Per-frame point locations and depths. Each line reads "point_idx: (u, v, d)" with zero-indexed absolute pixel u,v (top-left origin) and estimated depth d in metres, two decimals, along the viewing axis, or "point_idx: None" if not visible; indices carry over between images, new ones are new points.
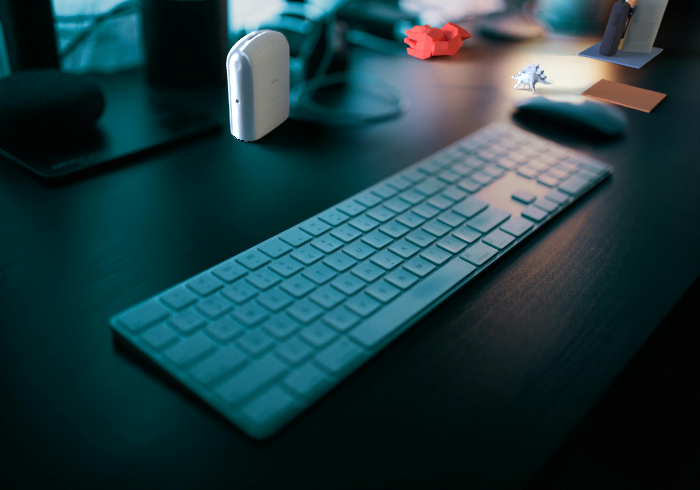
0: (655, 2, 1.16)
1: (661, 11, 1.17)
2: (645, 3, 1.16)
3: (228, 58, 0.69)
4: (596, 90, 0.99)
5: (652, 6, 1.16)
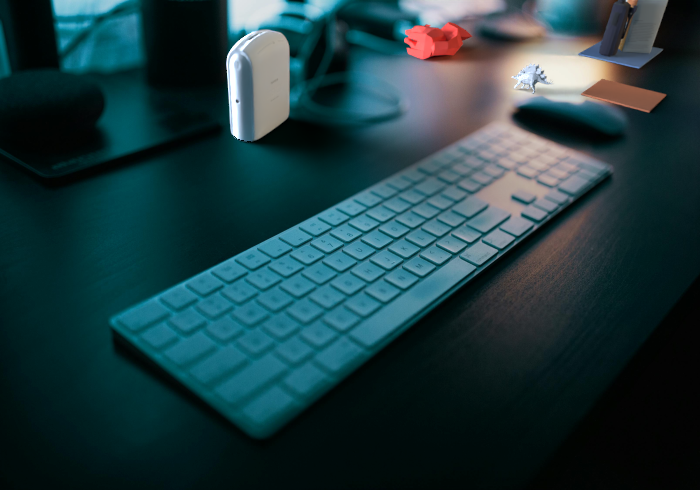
0: (655, 2, 1.16)
1: (661, 11, 1.17)
2: (645, 3, 1.16)
3: (228, 58, 0.69)
4: (596, 90, 0.99)
5: (652, 6, 1.16)
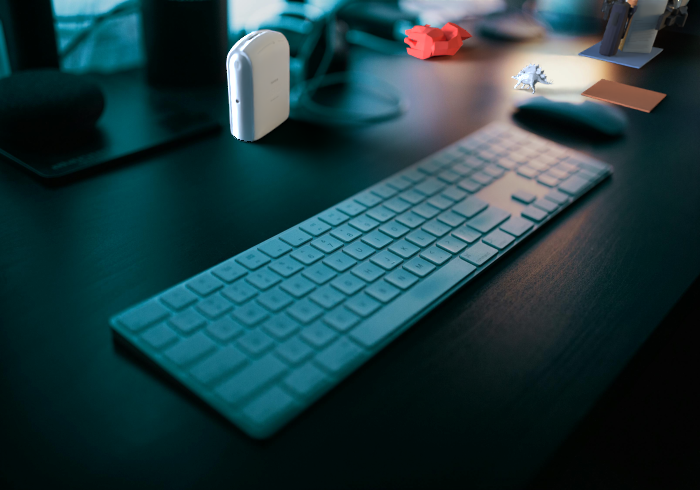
0: (655, 2, 1.16)
1: (661, 11, 1.17)
2: (645, 3, 1.16)
3: (228, 58, 0.69)
4: (596, 90, 0.99)
5: (652, 6, 1.16)
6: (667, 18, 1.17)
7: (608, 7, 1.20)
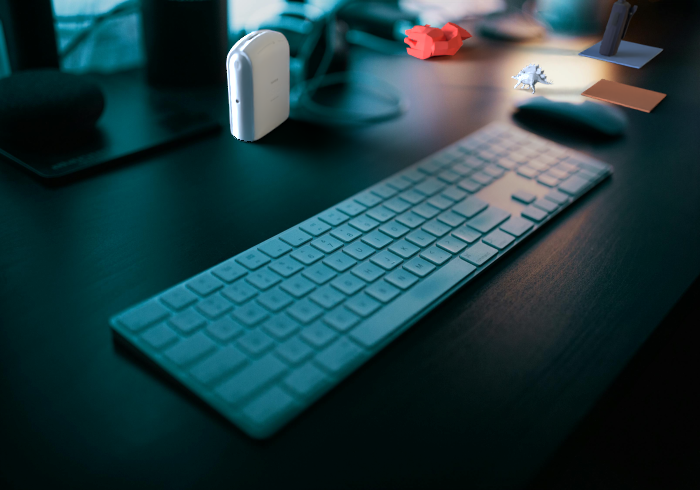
0: None
1: None
2: None
3: (228, 58, 0.69)
4: (596, 90, 0.99)
5: None
6: None
7: None
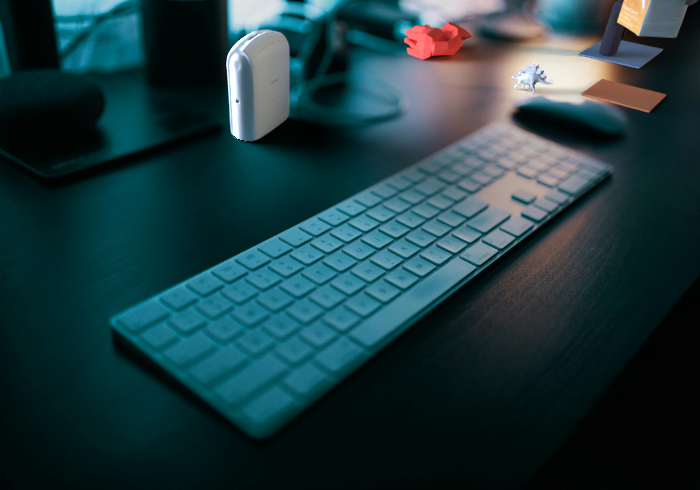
0: None
1: None
2: None
3: (228, 58, 0.69)
4: (596, 90, 0.99)
5: None
6: None
7: None
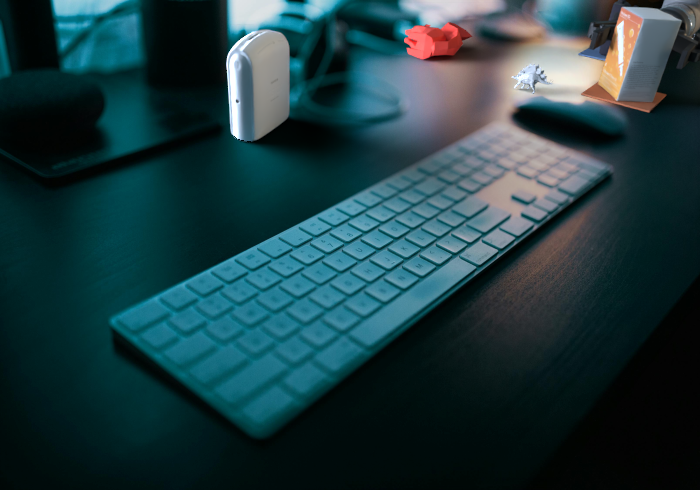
0: (659, 40, 0.90)
1: (667, 51, 0.91)
2: (646, 41, 0.90)
3: (228, 58, 0.69)
4: (596, 90, 0.99)
5: (656, 44, 0.90)
6: (692, 53, 0.90)
7: (595, 34, 0.95)
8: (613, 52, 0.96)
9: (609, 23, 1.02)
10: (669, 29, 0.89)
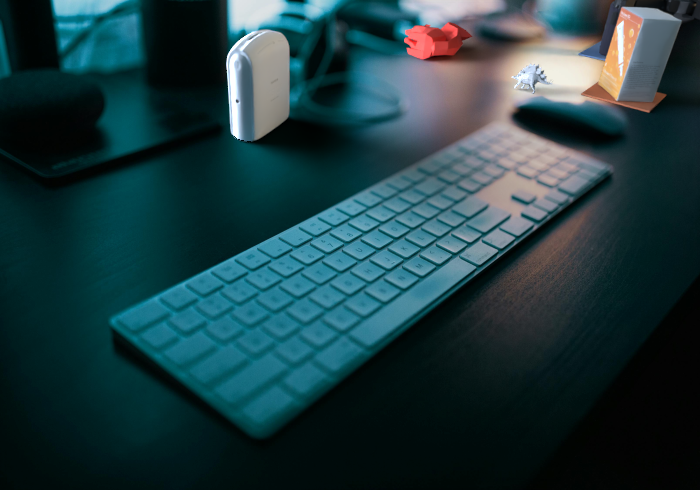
0: (659, 40, 0.90)
1: (667, 51, 0.91)
2: (646, 41, 0.90)
3: (228, 58, 0.69)
4: (596, 90, 0.99)
5: (656, 44, 0.90)
6: None
7: (624, 2, 1.01)
8: (613, 52, 0.96)
9: None
10: (669, 29, 0.89)
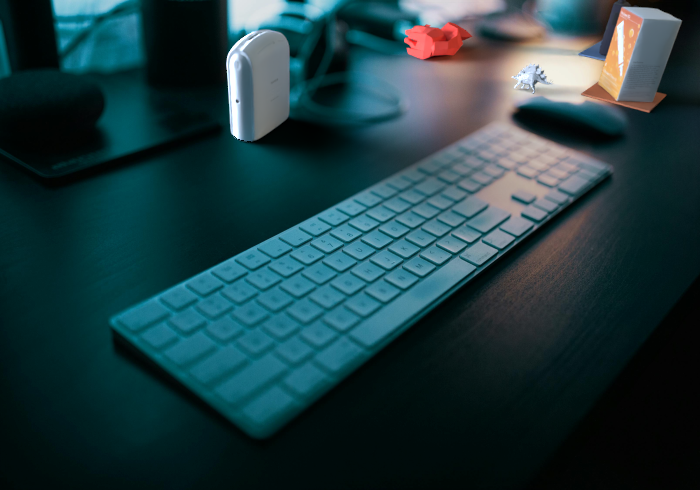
0: (659, 40, 0.90)
1: (667, 51, 0.91)
2: (646, 41, 0.90)
3: (228, 58, 0.69)
4: (596, 90, 0.99)
5: (656, 44, 0.90)
6: None
7: None
8: (613, 52, 0.96)
9: None
10: (669, 29, 0.89)
